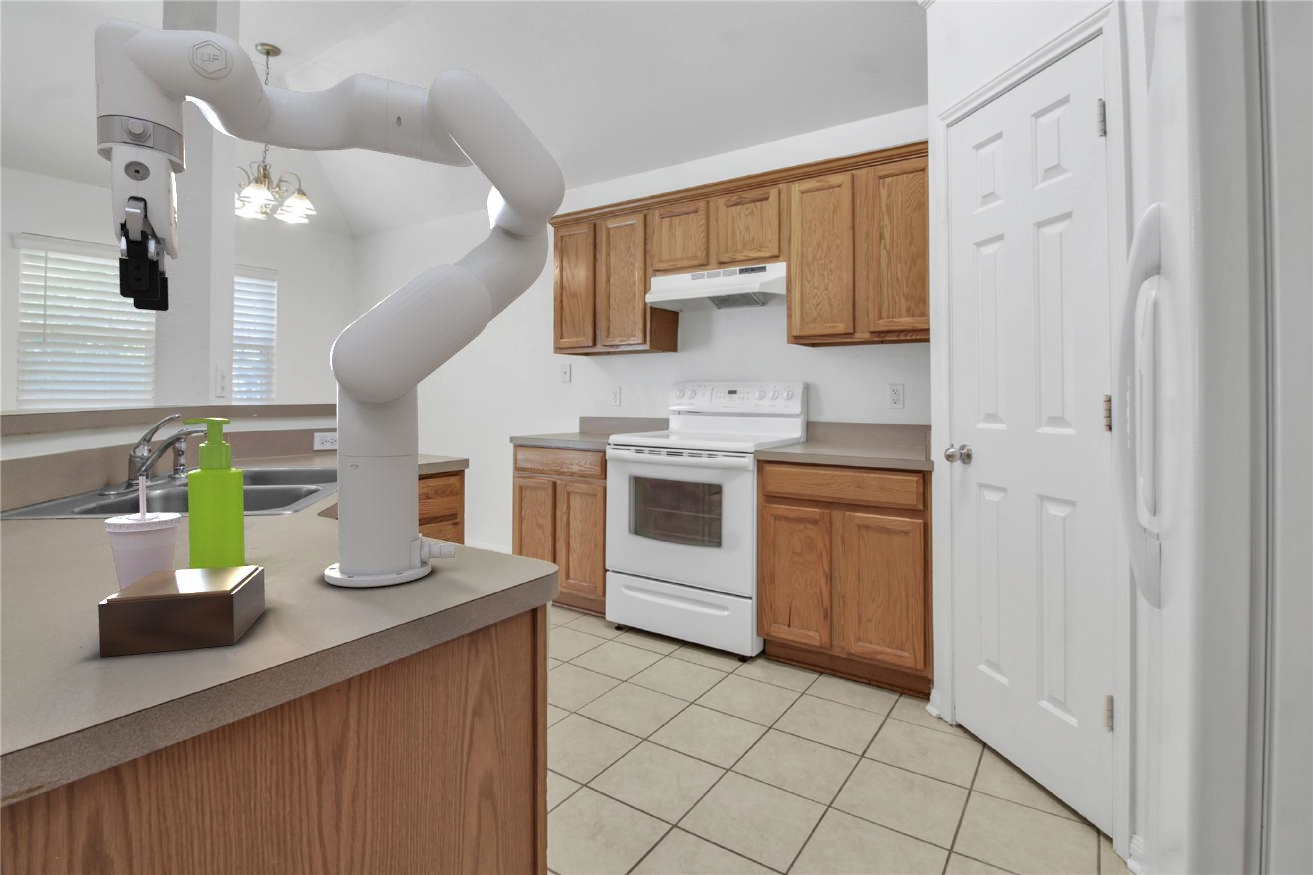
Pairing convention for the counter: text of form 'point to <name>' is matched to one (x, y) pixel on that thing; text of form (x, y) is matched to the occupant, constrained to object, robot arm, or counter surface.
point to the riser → (181, 610)
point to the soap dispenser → (215, 503)
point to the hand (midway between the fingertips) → (146, 304)
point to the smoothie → (142, 541)
